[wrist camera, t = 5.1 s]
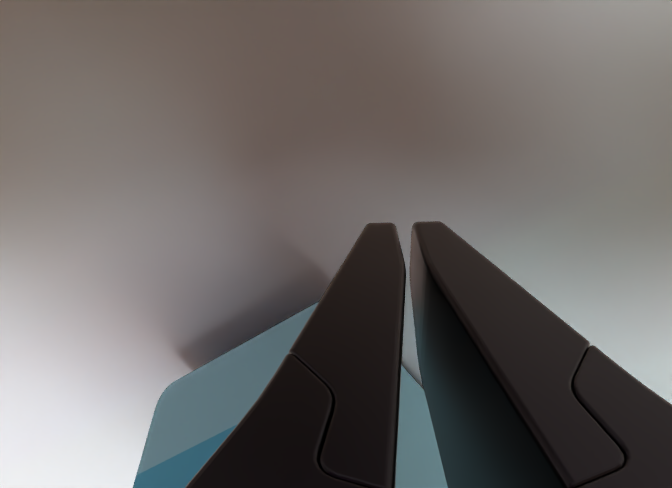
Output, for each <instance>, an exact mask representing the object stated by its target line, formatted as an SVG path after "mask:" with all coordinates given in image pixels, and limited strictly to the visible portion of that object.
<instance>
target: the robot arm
mask: <svg viewBox="0 0 672 488" xmlns="http://www.w3.org/2000/svg"><path fill="white" fill-rule="evenodd" d="M405 285H406V268H405V262H404V258H403V254H402V250H401V246H400V242H399V238H398V234H397V230H396V226H395V225H394V224H393V223H369V224H367V225H366V226H365V228H364V229H363V231H362V233H361V234H360V236H359V238H358V239H357V241H356V242H355V244H354V246H353V247H352V249H351V251H350V252H349V254H348V255H347V257H346V259H345V260H344V262H343V264H342V265H341V267H340V269H339V270H338V272H337V273H336V275H335V277H334V278H333V280H332V282H331V283H330V285H329V286H328V288H327V290H326V291H325V293H324V295H323V296H322V298H321V299H320V301H319V303H318V304H317V306H316V308H315V309H314V311H313V313H312V314H311V316H310V317H309V319H308V321H307V322H306V324H305V326H304V327H303V329H302V330H301V332H300V334H299V335H298V337H297V339H296V340H295V342H294V343H293V345H292V347H291V348H290V350H289V354H287V355H286V356H285V358H284V359H283V361H282V363H281V364H280V366H279V367H278V369H277V371H276V372H275V374H274V375H273V377H272V378H271V380H270V381H269V383H268V384H267V386H266V387H265V389H264V390H263V392H262V393H261V395H260V396H259V398H258V399H257V400H256V402H255V403H254V404H253V406H252V407H251V408H250V409H249V411H248V412H247V413H246V414H245V416H244V417H243V418H242V419H241V421H240V422H239V423H238V425H237V426H236V427H235V428H234V430H233V431H232V432H231V433H230V434H229V435H228V437H227V438H226V439H225V440H224V441H223V443H222V444H221V445H220V446H219V447H218V449H217V450H216V451H215V452H214V453H213V455H212V456H211V457H210V458H209V459H208V460H207V462H206V463H205V464H204V465H203V466H202V468H201V469H200V470H199V471H198V472H197V474H196V475H195V476H194V477H193V478H192V480H191V481H190V482H189V483H188V484H187V486H186V487H185V488H395V485H396V465H397V446H398V426H399V407H400V387H401V367H402V346H403V326H404V305H405ZM410 288H411V297H412V307H413V317H414V326H415V336H416V345H417V355H418V362H419V369H420V374H421V379H422V384H423V388H424V392H425V396H426V400H427V404H428V408H429V412H430V417H431V421H432V425H433V429H434V433H435V437H436V441H437V445H438V449H439V453H440V458H441V462H442V466H443V470H444V474H445V478H446V482H447V486H448V488H672V404H670V403H669V402H667V401H666V400H664V399H663V398H662V397H660V396H659V395H657V394H656V393H655V392H653V391H652V390H650V389H649V388H647V387H646V386H645V385H643V384H642V383H641V382H640V381H638V380H637V379H636V378H634V377H633V376H632V375H631V374H629V373H628V372H627V371H625V370H624V369H623V368H621V367H620V366H619V365H618V364H616V363H615V362H614V361H612V360H611V359H610V358H609V357H608V356H606V355H605V354H604V353H603V352H601V351H600V350H599V349H598V348H596V347H595V346H593V345H592V346H590V343H589V341H588V340H586V339H585V338H584V337H583V336H581V335H580V334H579V333H578V332H576V331H575V330H574V329H573V328H572V327H570V326H569V325H568V324H567V323H565V322H564V321H563V320H562V319H560V318H559V317H558V316H557V315H556V314H554V313H553V312H552V311H551V310H549V309H548V308H547V307H546V306H544V305H543V304H542V303H541V302H540V301H538V300H537V299H536V298H535V297H533V296H532V295H531V294H530V293H528V292H527V291H526V290H525V289H524V288H522V287H521V286H520V285H519V284H517V283H516V282H515V281H514V280H512V279H511V278H510V277H509V276H508V275H506V274H505V273H504V272H503V271H501V270H500V269H499V268H498V267H496V266H495V265H494V264H493V263H492V262H490V261H489V260H488V259H487V258H485V257H484V256H483V255H482V254H480V253H479V252H478V251H477V250H476V249H474V248H473V247H472V246H471V245H469V244H468V243H467V242H466V241H464V240H463V239H462V238H461V237H460V236H458V235H457V234H456V233H455V232H453V231H452V230H451V229H450V228H448V227H447V226H446V225H445V224H443V223H442V222H438V221H435V222H416V223H414V225H413V227H412V234H411V252H410Z"/></svg>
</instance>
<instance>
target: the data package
mask: <svg viewBox="0 0 672 488" xmlns="http://www.w3.org/2000/svg"><path fill="white" fill-rule="evenodd" d="M318 303H319V302H317V303H315V304H313V305H312V306H310V307H308V308H306V309H304V310H303V311H301V312H299V313H297V314H295V315H293V316H292V317H290V318H288V319H286V320H284V321H283V322H281V323H279V324H277V325H275V326H274V327H272V328H270V329H268V330H266V331H265V332H263V333H261V334H259V335H257V336H256V337H254V338H252V339H250V340H248V341H247V342H245V343H243V344H241V345H239V346H238V347H236V348H234V349H232V350H230V351H229V352H227V353H225V354H223V355H221V356H220V357H218V358H216V359H214V360H212V361H211V362H209V363H207V364H205V365H203V366H202V367H200V368H198V369H196V370H194V371H193V372H191V373H189V374H187V375H185V376H184V377H182V378H180V379H178V380H176V381H175V382H173V383H172V384H171V385H169V386H168V387H167V388H166V389H165V391H164V392H163V393H162V395H161V397H160V398H159V400H158V402H157V405H156V408H155V411H154V415H153V418H152V422H151V425H150V429H149V432H148V436H147V439H146V443H145V447H144V450H143V454H142V457H141V461H140V464H139V468H138V471H137V475H136V478H135V482H134V486H133V488H185V487H186V486H187V484H188V483H189V482H190V481H191V480H192V478H193V477H194V476H195V475H196V474H197V472H198V471H199V470H200V469H201V468H202V466H203V465H204V464H205V463H206V462H207V460H208V459H209V458H210V457H211V456H212V455H213V453H214V452H215V451H216V450H217V449H218V447H219V446H220V445H221V444H222V443H223V441H224V440H225V439H226V438H227V437H228V435H229V434H230V433H231V432H232V431H233V430H234V428H235V427H236V426H237V425H238V423H239V422H240V421H241V419H242V418H243V417H244V416H245V414H246V413H247V412H248V411H249V409H250V408H251V407H252V406H253V404H254V403H255V402H256V400H257V399H258V398H259V396H260V395H261V393H262V392H263V390H264V389H265V387H266V386H267V384H268V383H269V381H270V380H271V378H272V377H273V375H274V374H275V372H276V371H277V369H278V367H279V366H280V364H281V363H282V361H283V359H284V358H285V356H286V355H287V354H289V350H290V348H291V347H292V345H293V343H294V342H295V340H296V339H297V337H298V335H299V334H300V332H301V330H302V329H303V327H304V326H305V324H306V322H307V321H308V319H309V317H310V316H311V314H312V313H313V311H314V309H315V308H316V306H317V304H318ZM395 488H448V486H447V482H446V478H445V474H444V470H443V466H442V462H441V458H440V453H439V449H438V445H437V441H436V437H435V433H434V429H433V425H432V421H431V417H430V412H429V408H428V404H427V400H426V396H425V392H424V389H423V388H422V387H421V386H420V385H419V384H418V383H417V382H416V381H415V379H414V378H413V377H412V376H411V375H410V374H409V373H408V372H407V371H406V370H405V368H404V367H403V366H402V367H401V387H400V407H399V426H398V446H397V465H396V485H395Z"/></svg>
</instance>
